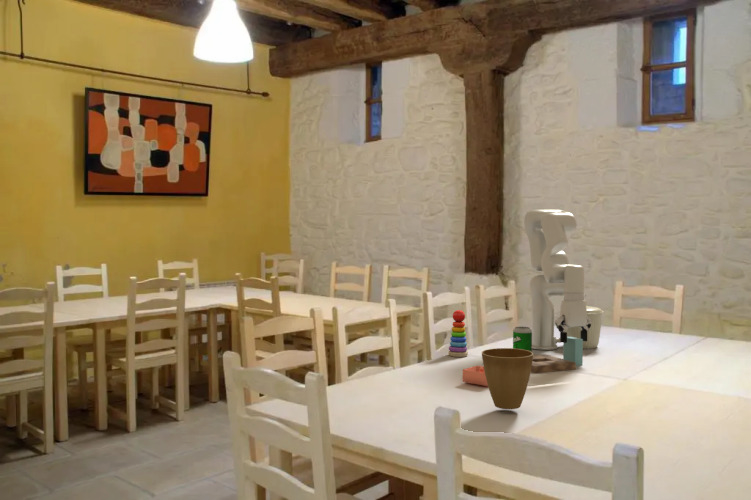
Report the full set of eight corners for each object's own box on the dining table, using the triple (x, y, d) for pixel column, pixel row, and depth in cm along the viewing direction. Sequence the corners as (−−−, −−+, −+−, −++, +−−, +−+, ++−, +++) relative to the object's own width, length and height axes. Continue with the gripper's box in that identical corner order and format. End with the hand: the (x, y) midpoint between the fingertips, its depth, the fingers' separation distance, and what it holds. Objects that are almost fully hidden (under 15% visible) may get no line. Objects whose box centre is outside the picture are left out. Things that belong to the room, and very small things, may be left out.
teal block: (570, 361, 269) (570, 336, 269) (582, 365, 263) (582, 339, 263) (563, 362, 268) (563, 337, 268) (575, 365, 262) (575, 339, 261)
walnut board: (545, 360, 271) (545, 350, 271) (575, 369, 255) (575, 358, 255) (507, 364, 264) (507, 353, 264) (535, 373, 248) (535, 362, 248)
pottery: (486, 386, 228) (486, 356, 228) (462, 381, 234) (462, 353, 234) (513, 377, 242) (513, 349, 242) (489, 373, 248) (490, 346, 248)
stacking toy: (468, 357, 277) (469, 311, 276) (449, 357, 277) (449, 311, 277) (466, 354, 285) (467, 309, 284) (447, 353, 285) (447, 309, 284)
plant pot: (496, 397, 212) (497, 346, 211) (541, 405, 202) (542, 351, 202) (471, 407, 200) (472, 352, 200) (517, 416, 191) (518, 359, 190)
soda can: (530, 355, 282) (530, 326, 282) (532, 358, 275) (533, 329, 275) (511, 355, 283) (512, 326, 283) (513, 358, 276) (514, 328, 275)
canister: (551, 346, 305) (552, 298, 305) (583, 343, 313) (584, 297, 312) (580, 352, 289) (580, 303, 288) (612, 349, 297) (613, 301, 296)
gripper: (585, 296, 271) (585, 339, 271) (549, 297, 264) (549, 341, 265) (598, 297, 264) (598, 341, 264) (561, 298, 258) (561, 344, 258)
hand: (573, 341), depth 264 cm, fingers open, 9 cm apart
